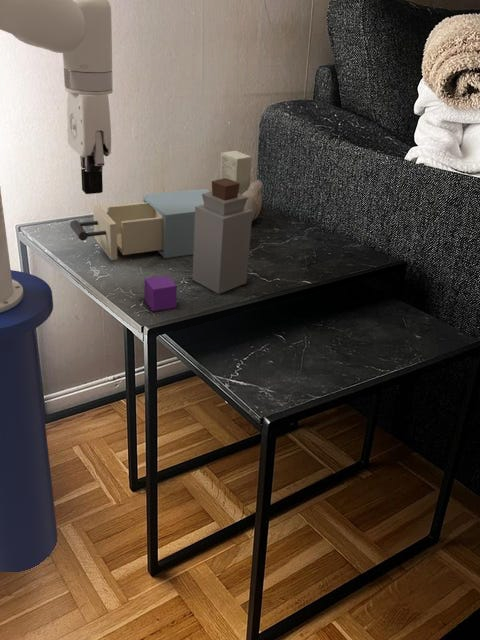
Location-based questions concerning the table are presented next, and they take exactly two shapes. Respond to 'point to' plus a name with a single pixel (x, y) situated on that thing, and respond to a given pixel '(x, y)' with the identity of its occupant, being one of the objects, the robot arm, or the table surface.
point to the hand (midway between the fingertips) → (92, 191)
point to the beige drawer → (124, 229)
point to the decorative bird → (254, 198)
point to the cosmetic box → (236, 168)
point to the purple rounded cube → (160, 293)
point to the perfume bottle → (222, 237)
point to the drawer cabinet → (177, 219)
